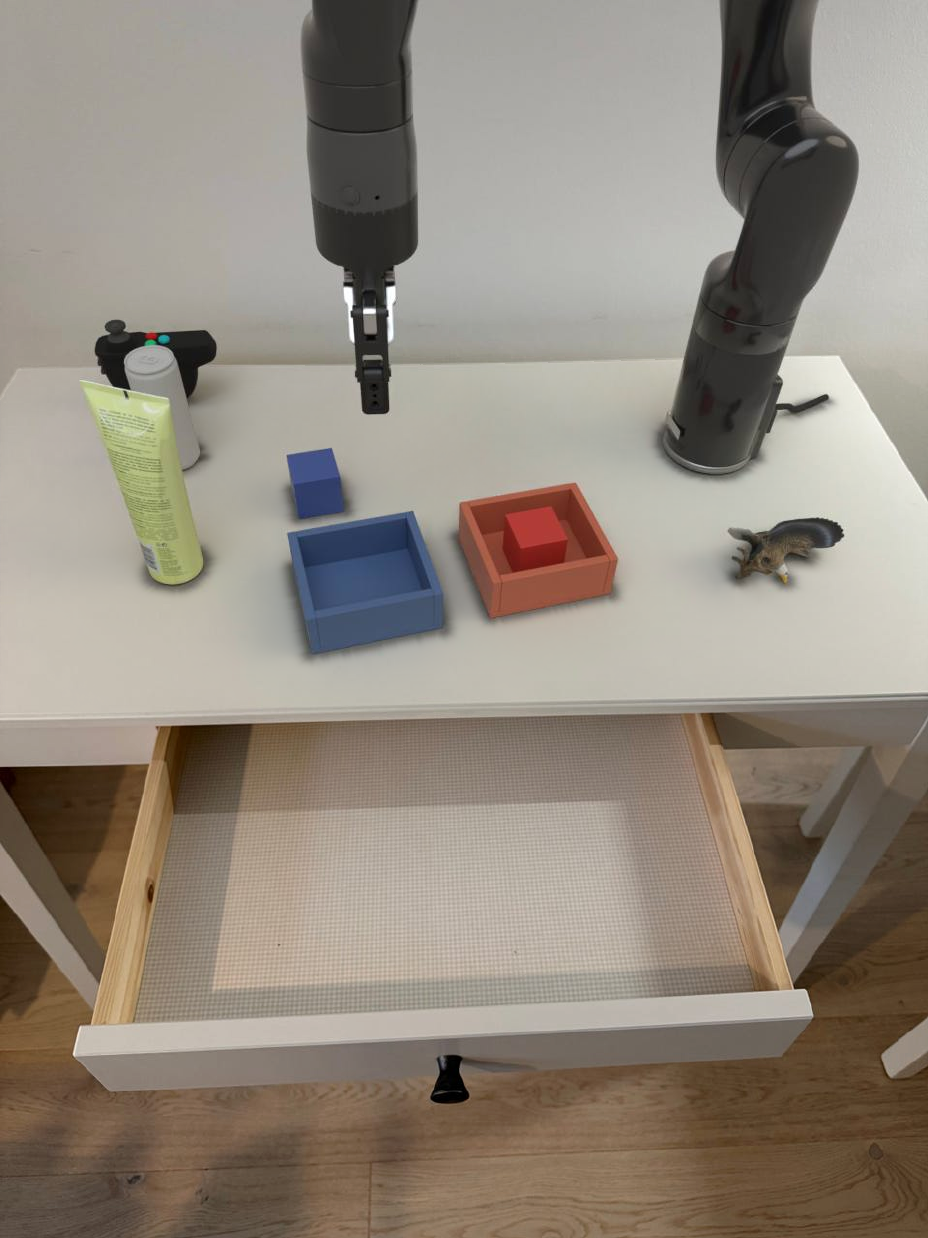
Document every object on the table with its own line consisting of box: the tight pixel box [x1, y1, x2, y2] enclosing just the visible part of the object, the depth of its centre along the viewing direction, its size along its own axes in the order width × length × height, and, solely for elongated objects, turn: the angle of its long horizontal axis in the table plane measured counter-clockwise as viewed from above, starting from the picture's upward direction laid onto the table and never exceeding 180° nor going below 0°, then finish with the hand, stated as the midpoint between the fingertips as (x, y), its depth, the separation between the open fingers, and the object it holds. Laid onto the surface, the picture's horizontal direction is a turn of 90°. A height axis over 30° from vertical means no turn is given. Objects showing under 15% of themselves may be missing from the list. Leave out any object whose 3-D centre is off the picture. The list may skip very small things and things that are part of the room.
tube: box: [79, 379, 204, 585], centre depth 74 cm, size 6×5×20 cm
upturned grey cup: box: [124, 345, 201, 471], centre depth 87 cm, size 5×5×12 cm
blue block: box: [285, 447, 345, 520], centre depth 86 cm, size 4×4×4 cm
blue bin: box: [286, 510, 444, 655], centre depth 78 cm, size 12×11×5 cm
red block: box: [503, 506, 568, 573], centre depth 80 cm, size 4×4×4 cm
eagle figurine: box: [727, 516, 845, 584], centre depth 81 cm, size 8×7×9 cm
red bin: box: [457, 481, 619, 619], centre depth 81 cm, size 12×11×5 cm
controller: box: [94, 319, 218, 400], centre depth 94 cm, size 4×12×10 cm, turn 100°
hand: (375, 380), depth 74 cm, fingers open, 8 cm apart
